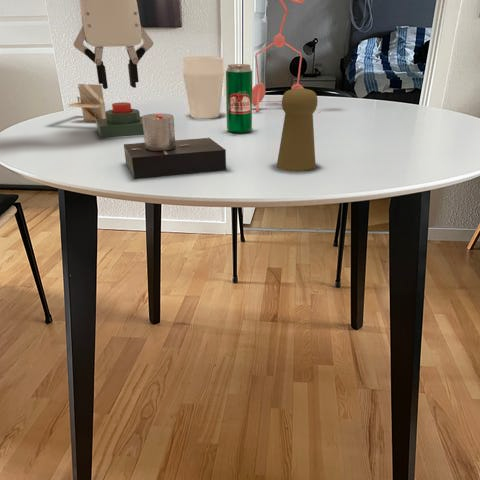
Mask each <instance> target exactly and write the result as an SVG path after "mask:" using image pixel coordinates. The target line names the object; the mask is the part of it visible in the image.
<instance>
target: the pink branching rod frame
mask: <svg viewBox="0 0 480 480" xmlns="http://www.w3.org/2000/svg"><path fill="white" fill-rule="evenodd" d="M275 1H278V0H275ZM289 1H291V2H294V3H296V4H298V5H303V3H305V2H306V0H289ZM279 2H280V4H281V5H282V7H283V9H284V13H283V16H282V20H281V24H280V28H279V33H278V34H276V35H275V36H273V42H272V43H270V44H268V46H266V47H264V48H262V49H261V50H260V51H258V52H257V53H255V55H254V58H255V69H256V78H257V83H256V84H254V86H252V106H253V107H254V108H255V112H259V107H260V106H259V105H260V103H264V101H263V99H264V98H265V96H266V86H265V84H264V83H263V82H261V83H260V74H259V65H258V55H260V54H261V53H263V52H264V51H266V50H268V49H269V48H270V47H272V46H274V47H276V48H278V49H279V48H283V47H284V45H285V46H286V47H288V48H289V49H291V50H293V51H294V52H295V53H297V54H299V55H300V57H299V65H298V73H297V82H296V83H294V84H293V85H292V86H291V89H297V88H303V89H305V88H304V87H303V85H301V84H300V77H301V68H302V61H303V54H302V52H300V51H298V50H297V49H295V47H293V46H291V45H290V44H288V43H287V42H286V38H285V36H284V35H283V34H282V32H283V28H284V24H285V20H286V18H287V14H288V11H289V10H288V6H287V5H286V4H285V2H284V1H283V0H279ZM291 89H290V90H291ZM265 103H282V100H277V101H275V100H274V101H271V100H269V101H268V100H267V101H266V100H265ZM319 113H321V111H318V113H317V114H319Z"/></svg>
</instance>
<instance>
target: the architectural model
mask: <svg viewBox="0 0 480 480" xmlns="http://www.w3.org/2000/svg"><path fill="white" fill-rule="evenodd" d="M77 86H78V87H77V89H78V92H79V96H78V95H77V96H76V98H77V102H73V103H69V104H67V106H68V108H80V109H81V111H82V115H76V116H71V119H82V118H83V121H87V122H88V121H89V122H96V119H106V115H105V112H106V111H107V110H106V105H105V99H104V92H103V86H102V84H93V83H91V84H89V83H86V84H85V83H78V85H77Z"/></svg>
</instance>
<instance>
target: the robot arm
mask: <svg viewBox="0 0 480 480" xmlns="http://www.w3.org/2000/svg"><path fill="white" fill-rule="evenodd" d="M79 6H80V15H81V25H82V26H81V28H80V30H79V31H78V34H77V36H76V38H75V39H74V41H73V43H72V44H73V47H74V48H75V49H76V50H77V51H79V52H80V53H82V54H83V55H85V56H86V57H88V59H89V60H90V61H92V63H94V65H95V67H96V74H97V81H98V82H97V83H98V85H102V89H103V90H108V89H109V88H108V78H107V71H106V66H105V65H104V61H103V53H104V48H106V47H107V48H108V47H111V48H113V47H115V48H116V47H125V50H126V52H127V56H128V59H129V60H128V63H127V69H128V77H129V79H128V80H129V86H130V87H131V88H133V89H136V88H137V83H139V81H140V79H139V71H138V64H139V61H141V59H142V58H143V57H144V55H145V54H146V53H147V52H148V51H149V50H150V48H152V47H153V46H154V41H153V40H152V38H151V37H150V35H148V33H147V32H146V30H145V29H144V28H143V26H142V25H141V19H140V13H139V12H140V11H139V7H138V1H137V0H79ZM84 41H85V43H86V44H87V45H89V46H91V47H94V50H92V49H90V48H88V47H87V46H86V45H85V44H84ZM141 43H142V44H141ZM140 44H141V45H140ZM138 45H140V46H139V47H138V48H137V49H136V48H135V46H138ZM93 51H94V52H93Z"/></svg>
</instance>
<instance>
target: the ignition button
mask: <svg viewBox="0 0 480 480" xmlns="http://www.w3.org/2000/svg"><path fill="white" fill-rule="evenodd" d="M111 108H112V109H111V110H113V113H129V112H132V111H131V109H132V104H131V103H130V102H125V101H123V102H113V103H112V104H111Z"/></svg>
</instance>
